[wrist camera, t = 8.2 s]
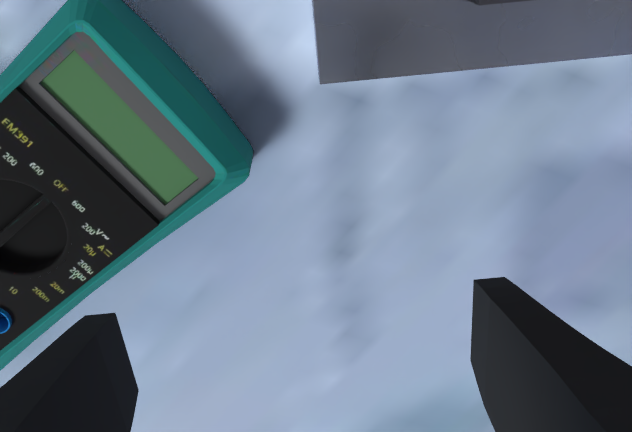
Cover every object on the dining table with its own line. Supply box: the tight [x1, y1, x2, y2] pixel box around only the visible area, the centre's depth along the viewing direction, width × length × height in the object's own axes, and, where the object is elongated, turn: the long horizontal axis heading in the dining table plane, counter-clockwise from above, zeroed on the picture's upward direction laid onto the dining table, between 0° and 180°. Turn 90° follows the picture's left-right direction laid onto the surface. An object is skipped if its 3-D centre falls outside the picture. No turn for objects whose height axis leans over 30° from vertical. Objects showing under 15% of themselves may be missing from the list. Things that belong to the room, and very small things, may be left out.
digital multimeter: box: [0, 0, 253, 370], centre depth 20 cm, size 7×15×3 cm, turn 129°
